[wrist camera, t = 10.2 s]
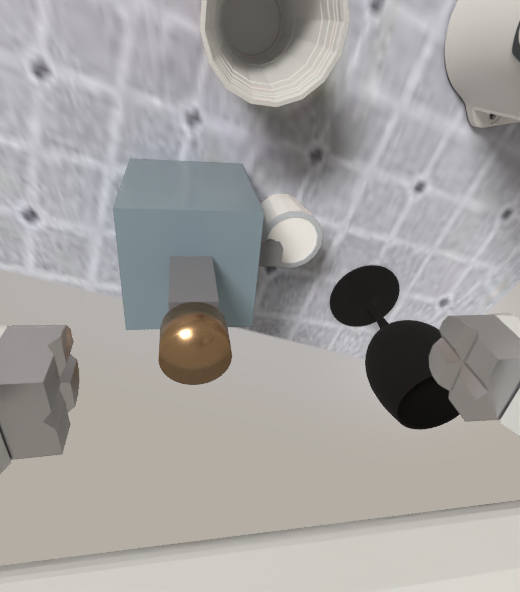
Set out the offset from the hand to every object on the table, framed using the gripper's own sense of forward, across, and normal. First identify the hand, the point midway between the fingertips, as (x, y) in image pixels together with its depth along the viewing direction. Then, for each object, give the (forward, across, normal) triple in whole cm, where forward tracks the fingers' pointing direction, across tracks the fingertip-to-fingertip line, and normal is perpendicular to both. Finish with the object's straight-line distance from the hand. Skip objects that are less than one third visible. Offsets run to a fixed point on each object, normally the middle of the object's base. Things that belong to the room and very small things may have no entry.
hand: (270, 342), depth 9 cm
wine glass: (+39, -24, +25) cm, 52 cm away
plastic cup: (+39, -5, -6) cm, 40 cm away
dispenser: (+39, -1, +13) cm, 41 cm away
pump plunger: (+25, +1, +13) cm, 28 cm away
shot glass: (+39, -10, +13) cm, 43 cm away
